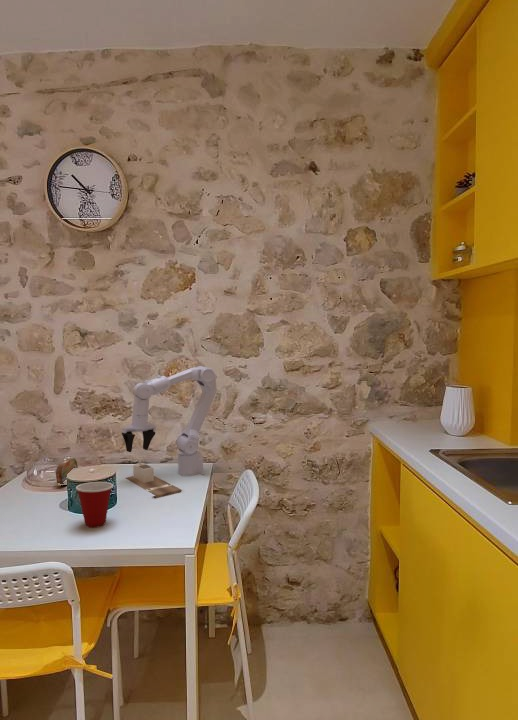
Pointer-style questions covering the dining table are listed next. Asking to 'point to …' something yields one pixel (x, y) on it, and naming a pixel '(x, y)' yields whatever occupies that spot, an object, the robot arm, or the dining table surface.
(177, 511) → the dining table surface
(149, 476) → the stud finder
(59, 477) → the brown arched piece
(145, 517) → the dining table surface
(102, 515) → the plastic cup
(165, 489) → the floorboard
